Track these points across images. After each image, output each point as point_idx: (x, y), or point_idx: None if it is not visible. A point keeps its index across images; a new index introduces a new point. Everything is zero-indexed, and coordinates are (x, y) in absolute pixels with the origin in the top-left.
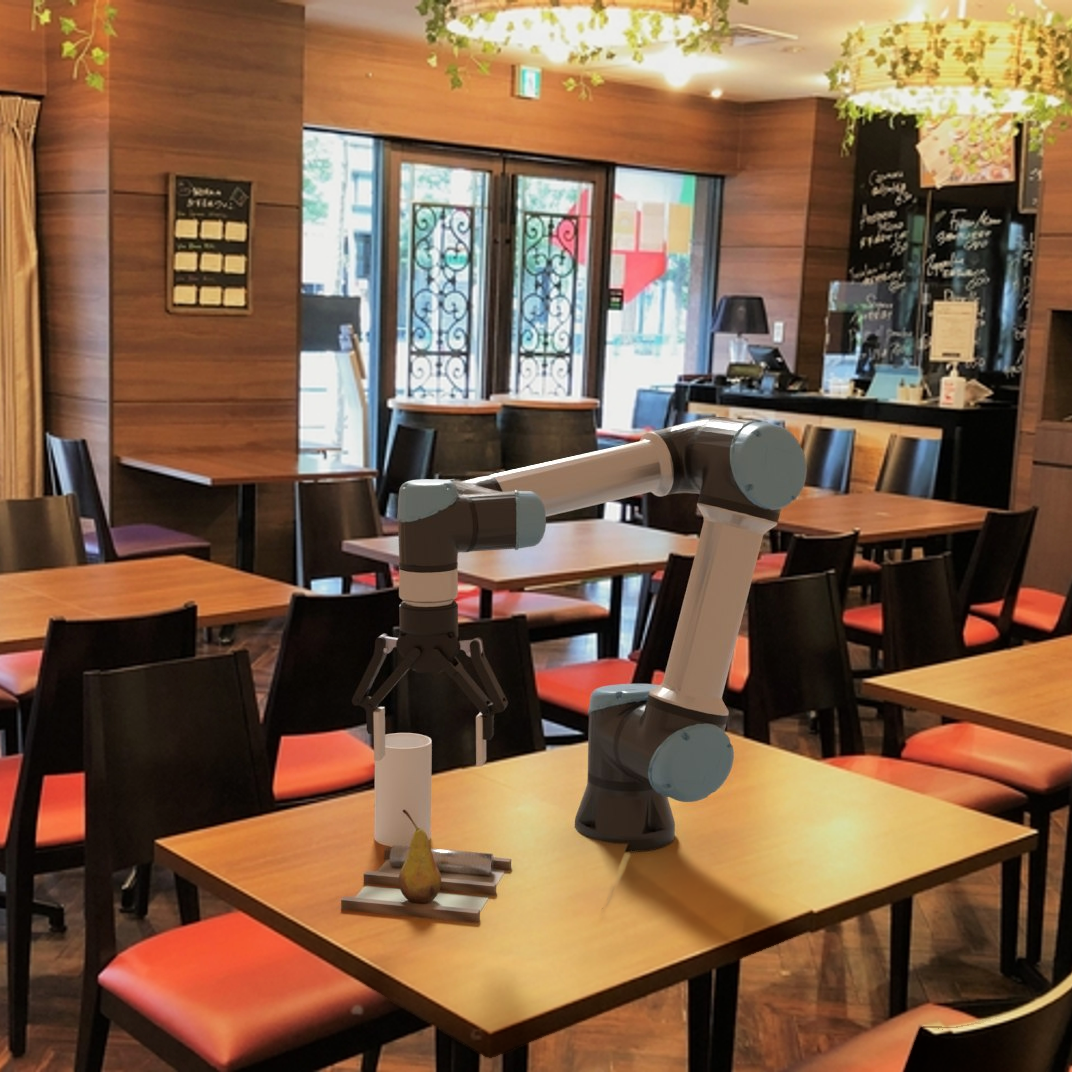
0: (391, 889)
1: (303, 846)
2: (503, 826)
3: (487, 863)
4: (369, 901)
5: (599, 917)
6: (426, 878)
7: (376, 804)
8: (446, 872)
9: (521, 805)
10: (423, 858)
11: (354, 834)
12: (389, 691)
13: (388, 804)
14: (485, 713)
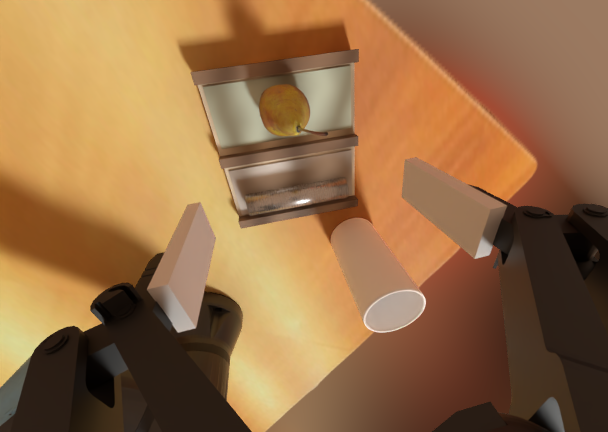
0: (322, 128)
1: None
2: (294, 295)
3: (247, 198)
4: (326, 57)
5: (107, 167)
6: (268, 93)
7: (387, 246)
8: None
9: (298, 326)
10: (277, 103)
11: (395, 241)
12: (505, 292)
13: (376, 244)
14: (108, 298)
